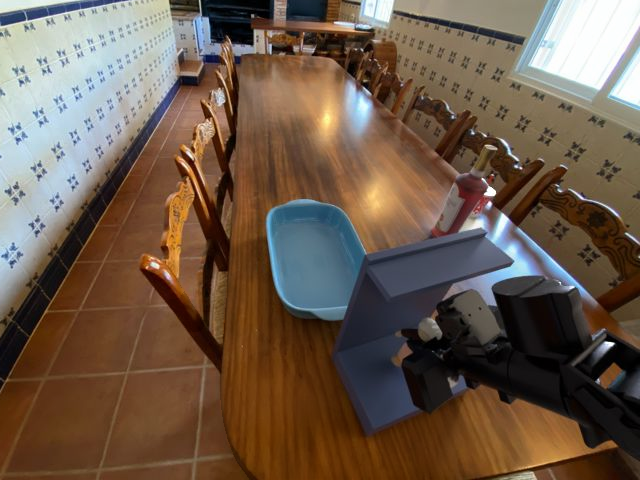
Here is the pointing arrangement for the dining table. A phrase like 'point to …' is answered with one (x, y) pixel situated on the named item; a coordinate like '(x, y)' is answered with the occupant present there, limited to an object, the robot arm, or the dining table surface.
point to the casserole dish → (313, 258)
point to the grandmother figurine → (416, 337)
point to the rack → (401, 317)
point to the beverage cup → (483, 200)
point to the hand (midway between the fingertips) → (414, 338)
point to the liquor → (464, 196)
